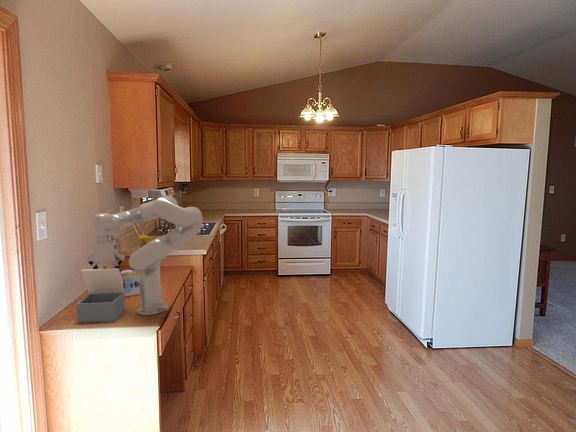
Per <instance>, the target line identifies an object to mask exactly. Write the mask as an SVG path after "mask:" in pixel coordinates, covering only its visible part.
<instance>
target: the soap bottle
mask: <svg viewBox="0 0 576 432" xmlns="http://www.w3.org/2000/svg"><path fill="white" fill-rule="evenodd" d="M154 237H155V236H149V235H146V234H141V235H139V236H138V237H137V239H138V240H141V241H142V242H140V243H139V248H138V249H140V248H141V247H143V246H144V245H146V244H147V242H146V240H154V239H155V238H154Z"/></svg>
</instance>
